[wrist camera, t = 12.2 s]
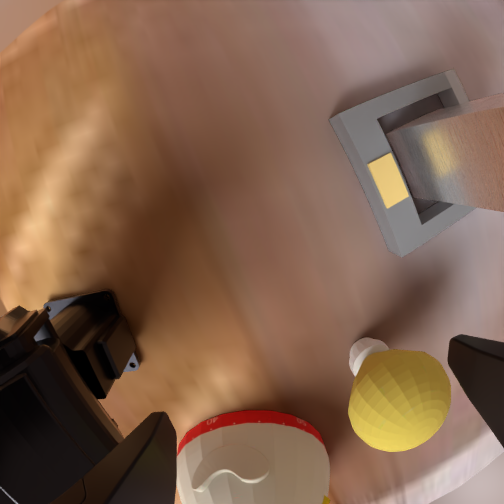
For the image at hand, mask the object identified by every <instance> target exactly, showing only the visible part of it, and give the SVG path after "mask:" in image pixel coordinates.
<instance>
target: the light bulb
mask: <svg viewBox="0 0 504 504" xmlns="http://www.w3.org/2000/svg"><path fill="white" fill-rule="evenodd" d="M349 365H350V369H351V371H352V372H353V374H354V376H355V379H354V382H353V386H352V391H351V396H350V400H349V408H348V415H349V418H350V421H351V424H352V427H353V429H354V431H355V433H356V434H357V435H358V436H359V437H360V438H361V439H362V440H363V441H365V442H366V443H367V444H368V445H370V446H371V447H373V448H376V449H380V450H384V451H389V452H396V451H405V450H409V449H412V448H414V447H417V446H418V445H420V444H422V443H424V442H425V441H427V440H428V439H429V438H431V437H432V436H433V435H434V434H435V433H436V432H437V430H438V429H439V428H440V427H441V425H442V424H443V422H444V420H445V418H446V416H447V413H448V410H449V408H450V403H451V385H450V381H449V378H448V376H447V374H446V372H445V370H444V369H443V367H442V365H441V364H440V363H439V361H438V360H436V359H435V358H434V357H432V356H430V355H429V354H427V353H425V352H420V351H409V350H398V349H393V350H390V349H389V348H388V346H387V345H386V344H385V343H384V342H382V341H381V340H377V339H372V338H368V337H366V338H362V339H360V340H358V341H357V342H355V343H354V344H353V346H352V347H351V350H350V360H349Z"/></svg>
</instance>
